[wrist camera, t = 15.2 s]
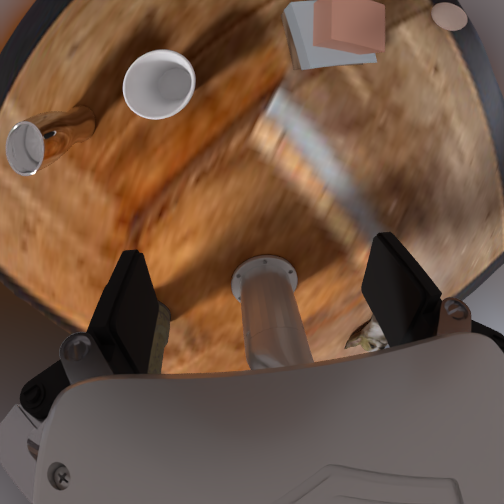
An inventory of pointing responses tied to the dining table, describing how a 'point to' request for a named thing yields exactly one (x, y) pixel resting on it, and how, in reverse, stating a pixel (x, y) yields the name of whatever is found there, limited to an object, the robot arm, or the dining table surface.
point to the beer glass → (47, 138)
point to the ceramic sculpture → (369, 337)
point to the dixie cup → (159, 84)
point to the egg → (449, 16)
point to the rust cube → (349, 25)
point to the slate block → (302, 36)
